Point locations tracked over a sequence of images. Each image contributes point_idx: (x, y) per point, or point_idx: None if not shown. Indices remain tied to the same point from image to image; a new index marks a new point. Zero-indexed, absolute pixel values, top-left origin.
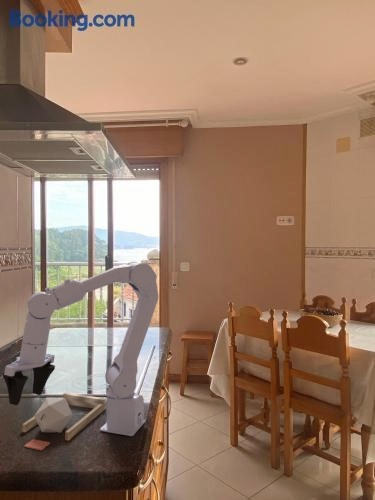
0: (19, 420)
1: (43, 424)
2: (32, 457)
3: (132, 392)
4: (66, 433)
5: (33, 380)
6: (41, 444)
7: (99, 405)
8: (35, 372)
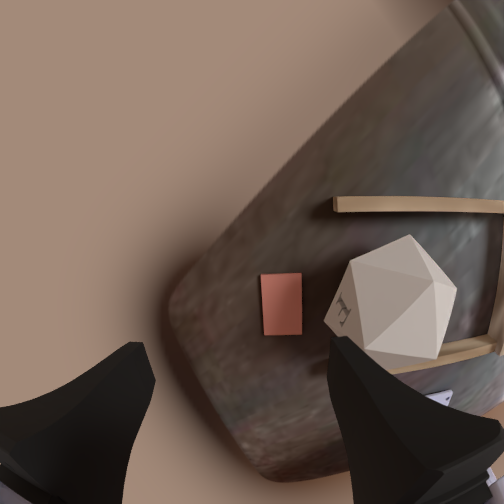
0: (387, 128)
1: (329, 311)
2: (229, 330)
3: None
4: None
5: (362, 382)
6: (284, 318)
7: (484, 350)
8: (381, 446)
